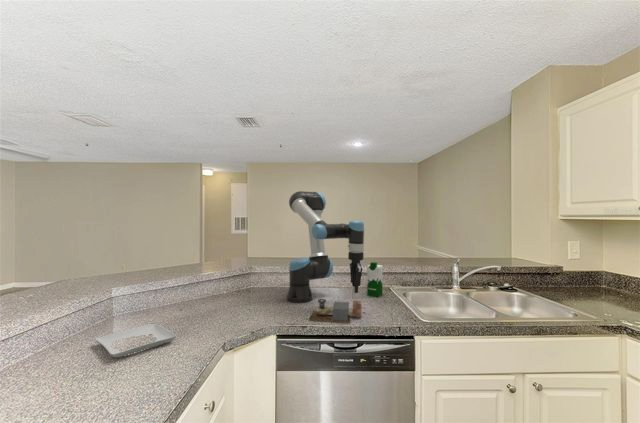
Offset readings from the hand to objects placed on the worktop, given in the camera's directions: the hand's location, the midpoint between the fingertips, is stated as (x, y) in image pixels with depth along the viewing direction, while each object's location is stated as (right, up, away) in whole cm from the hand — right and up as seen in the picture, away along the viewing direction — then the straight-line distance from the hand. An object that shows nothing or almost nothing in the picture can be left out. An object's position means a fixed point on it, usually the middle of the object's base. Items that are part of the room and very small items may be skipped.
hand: (355, 298), depth 145 cm
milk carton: (+16, -8, +32) cm, 37 cm away
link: (-9, -6, -5) cm, 12 cm away
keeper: (-13, -7, -7) cm, 16 cm away
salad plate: (-87, -7, -36) cm, 94 cm away
